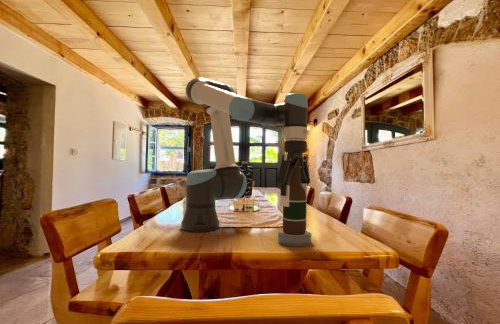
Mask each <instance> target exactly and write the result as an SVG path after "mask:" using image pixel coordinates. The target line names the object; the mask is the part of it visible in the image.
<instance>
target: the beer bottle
mask: <svg viewBox="0 0 500 324" xmlns="http://www.w3.org/2000/svg"><path fill="white" fill-rule="evenodd" d="M300 164H301V162H300V161H299V163H298V164H297V167H296V169H295V170H294V171H293V173H292V176H291V178H290V181H289V183H288V185H287V186H289V207H286V206H282V230H283V232H284V233H286V234H290V235H303V234H304V233H305V232H306V231H307V202H306V193H305V190H304V188H303V186H302V185H301V176H300Z"/></svg>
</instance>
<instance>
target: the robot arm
mask: <svg viewBox="0 0 500 324" xmlns="http://www.w3.org/2000/svg"><path fill="white" fill-rule="evenodd" d="M185 86H186V87H185V95H186V98H188V100H189V101H190V102H192V103H194V104H197V105H200V106H204V107H205V108H206V113H207V114H208V115H209V116H210V123H211V125H210V126H211V132H212V141H213V150H214V158H215V167H214V168H206V169H196V170H192V171H190V172H188V173H187V175H186V181H185V185H186V187H185V189H186V191H185V192H186V193H185V195H186V196H185V212H184V214H183V217H182V221H181V222H180V229H181V230H182V231H186V232H193V233H201V232H202V233H203V232H204V233H205V232H212V231H216V230H218V229H220V220H219V218H218V213H217V209H216V201H222V200H234V199H239V198H241V197H242V196H243V195H244V194H245V192H246V190H247V186H248V180H247V177H246V175H245V174H244V173H243V172H241V169H240V166H239V165H238V164H237V163H236V157H235V150H234V149H235V148H234V141H233V136H232V135H233V134H232V127H231V126H232V125H231V118H232V119H233V120H236V121H238V122H239V121H241V122H249V123H255V124H260V125H261V126H262V127H267V128H268V127H275V126H282V125H284V135H283V136H284V137H283V139H284V140H285V141H284V142H283V148H284V150H283V151H284V153H283V154H282V156H281V163H280V167H279V169H278V170H279V171H278V173H277V178H276V185H277V186H280V198H279V200H280V204H279V205H280V207H283V206H286V207H289V186H288V185H289V181H290V178H291V176H292V173H293V171H294V170H295V169H296V167H297V164H298V163H299V161H300V162H301V164H300V176H301V185H302V186H303V188H304V190H305V193H306V203H308V201H307V200H308V198H307V197H308V185H309V184H310V183H311V177H310V172H309V165H308V157H307V155H303V153H306V152H307V151H308V150H307V149H308V148H307V147H308V142H307V141H306V140H307V139H308V133H309V130H308V110H309V106H308V104H309V103H308V96H307V95H306V94H304V93H300V92H294V93H293V92H291V93H288V94H286V95H285V97H284V98H285V99H284V102H281V103H276V104H275V103H269V102H265V101H260V100H257V99H253V98H250V97H246V96H243V95H239V94H236V93H235V90H234V88H233V87H232V86H231V85H229V84H227V83H225V82H218V81H215V80H211V79H208V78H205V77H195V78H192V79H191V80H189V81H188V83H187V84H186V85H185ZM230 117H231V118H230Z"/></svg>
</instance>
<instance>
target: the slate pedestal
mask: <svg viewBox="0 0 500 324" xmlns="http://www.w3.org/2000/svg"><path fill="white" fill-rule="evenodd" d="M277 243H278V244H280V245H281V246H286V247H294V248H301V247H308V246H310V245H312V232H310V231H308V230H306V232H305V233H304V234H303V235H290V234H286V233H284V232H283V229H279V230H278V231H277Z"/></svg>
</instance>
